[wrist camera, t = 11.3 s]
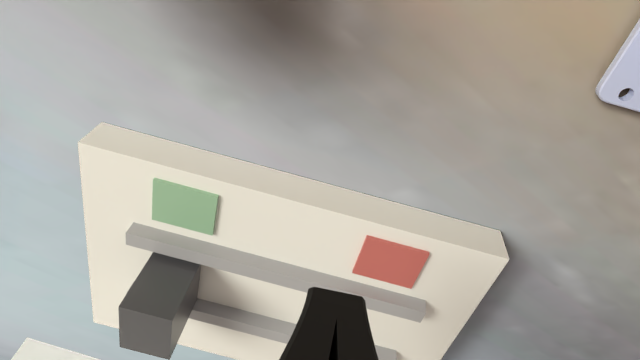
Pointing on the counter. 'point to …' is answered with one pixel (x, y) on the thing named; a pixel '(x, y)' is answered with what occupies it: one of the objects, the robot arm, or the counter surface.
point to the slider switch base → (275, 248)
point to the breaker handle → (158, 305)
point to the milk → (46, 352)
